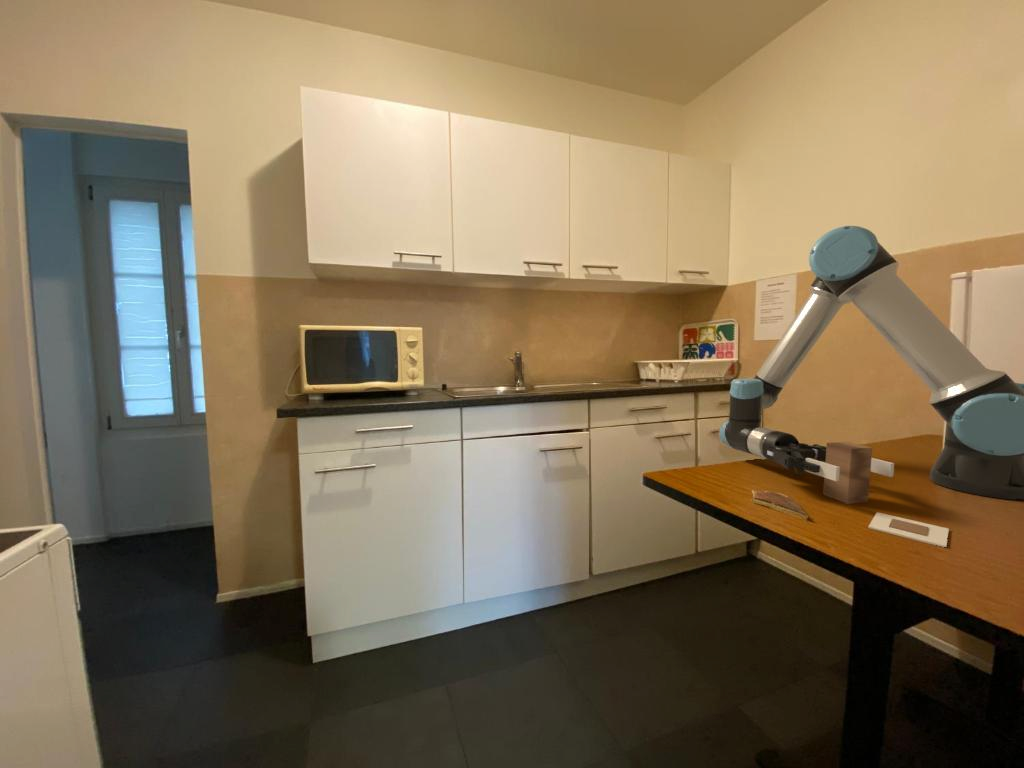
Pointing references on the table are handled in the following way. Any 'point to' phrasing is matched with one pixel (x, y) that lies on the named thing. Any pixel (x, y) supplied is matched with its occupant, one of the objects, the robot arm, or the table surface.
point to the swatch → (910, 529)
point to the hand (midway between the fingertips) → (865, 472)
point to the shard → (778, 503)
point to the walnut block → (849, 472)
